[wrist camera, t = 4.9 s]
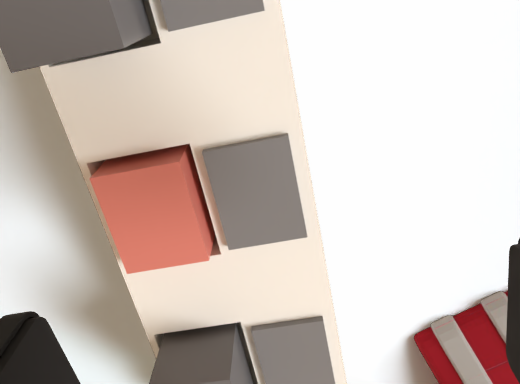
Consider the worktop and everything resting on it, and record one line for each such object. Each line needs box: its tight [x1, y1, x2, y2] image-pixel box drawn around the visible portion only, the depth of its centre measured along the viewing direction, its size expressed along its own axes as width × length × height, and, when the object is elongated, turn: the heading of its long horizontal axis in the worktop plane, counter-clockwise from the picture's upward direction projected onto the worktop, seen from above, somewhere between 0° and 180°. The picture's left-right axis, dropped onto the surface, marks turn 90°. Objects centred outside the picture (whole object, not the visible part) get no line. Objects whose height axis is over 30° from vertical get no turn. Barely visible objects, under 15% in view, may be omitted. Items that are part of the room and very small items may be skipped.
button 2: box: [89, 144, 215, 274], centre depth 18 cm, size 4×3×3 cm
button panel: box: [40, 0, 347, 384], centre depth 17 cm, size 32×8×4 cm, turn 12°
